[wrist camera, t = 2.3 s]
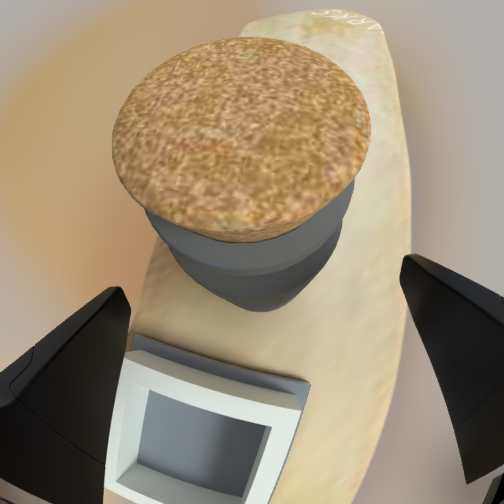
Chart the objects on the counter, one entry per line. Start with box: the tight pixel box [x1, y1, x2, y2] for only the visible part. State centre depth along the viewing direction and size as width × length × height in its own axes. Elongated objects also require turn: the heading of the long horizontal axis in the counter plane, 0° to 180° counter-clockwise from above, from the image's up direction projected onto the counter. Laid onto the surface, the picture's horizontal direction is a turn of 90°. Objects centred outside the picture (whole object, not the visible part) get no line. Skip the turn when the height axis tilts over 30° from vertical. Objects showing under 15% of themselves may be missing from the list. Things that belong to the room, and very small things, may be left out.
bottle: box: [112, 37, 371, 312], centre depth 11 cm, size 6×6×15 cm
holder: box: [104, 335, 311, 504], centre depth 14 cm, size 12×12×4 cm
